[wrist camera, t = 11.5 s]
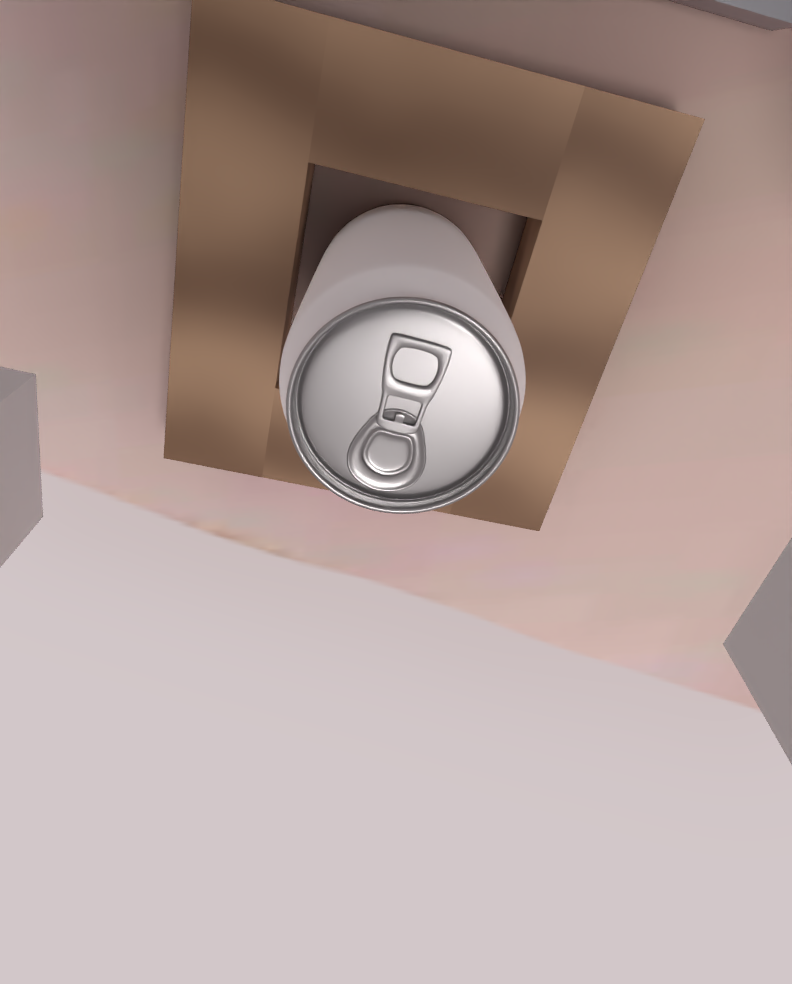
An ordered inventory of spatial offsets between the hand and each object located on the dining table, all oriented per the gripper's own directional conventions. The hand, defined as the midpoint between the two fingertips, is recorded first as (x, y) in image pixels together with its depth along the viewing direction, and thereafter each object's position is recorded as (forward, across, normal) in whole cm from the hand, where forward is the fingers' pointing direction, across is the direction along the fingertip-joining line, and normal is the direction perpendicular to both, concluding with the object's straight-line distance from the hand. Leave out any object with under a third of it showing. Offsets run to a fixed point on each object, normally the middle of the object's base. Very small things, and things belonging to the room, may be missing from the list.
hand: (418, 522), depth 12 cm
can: (+17, 0, 0) cm, 17 cm away
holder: (+17, 0, 0) cm, 17 cm away
